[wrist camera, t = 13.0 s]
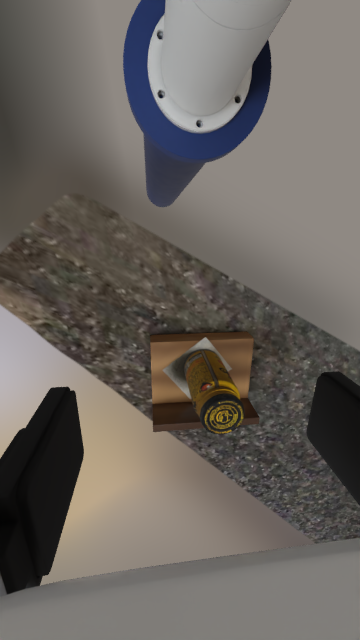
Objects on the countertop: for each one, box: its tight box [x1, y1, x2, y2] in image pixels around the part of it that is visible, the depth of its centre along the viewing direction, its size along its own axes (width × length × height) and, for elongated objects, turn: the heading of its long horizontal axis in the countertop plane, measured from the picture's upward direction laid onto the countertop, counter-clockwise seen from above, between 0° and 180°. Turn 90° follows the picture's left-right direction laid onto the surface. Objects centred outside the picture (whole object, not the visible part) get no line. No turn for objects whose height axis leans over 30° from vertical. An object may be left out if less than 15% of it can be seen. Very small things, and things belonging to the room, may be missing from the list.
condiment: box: [162, 337, 245, 434], centre depth 35 cm, size 7×8×12 cm
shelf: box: [150, 332, 259, 432], centre depth 40 cm, size 12×16×8 cm
